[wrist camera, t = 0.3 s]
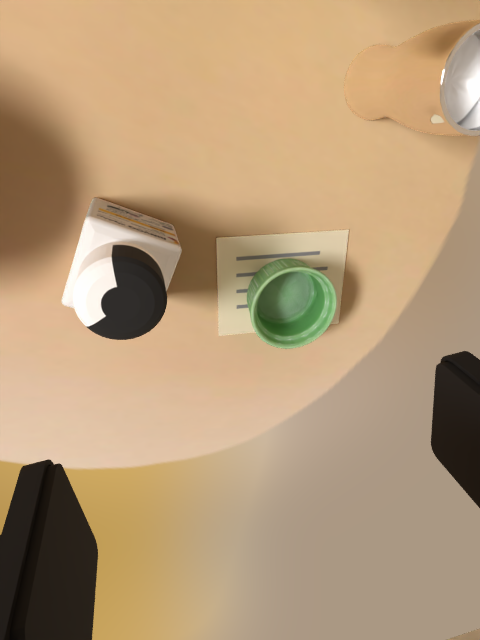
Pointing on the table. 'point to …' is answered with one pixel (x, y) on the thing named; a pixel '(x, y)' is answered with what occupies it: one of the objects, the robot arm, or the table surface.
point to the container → (121, 271)
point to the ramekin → (290, 303)
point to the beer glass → (421, 81)
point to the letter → (258, 250)
